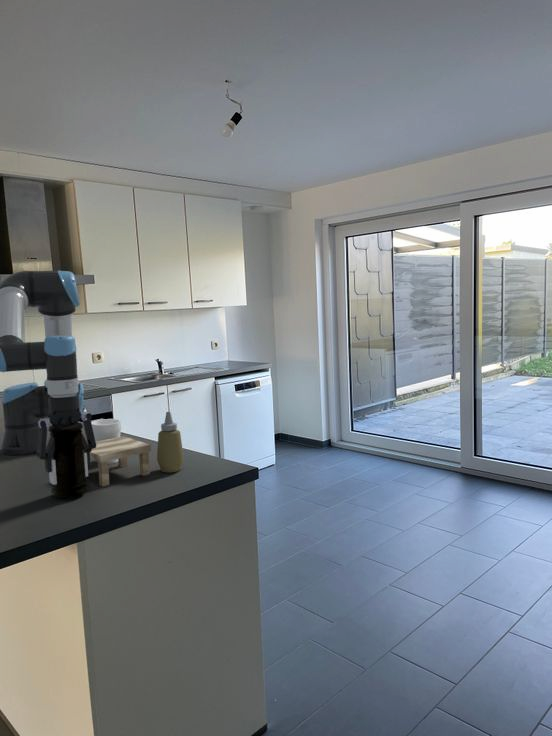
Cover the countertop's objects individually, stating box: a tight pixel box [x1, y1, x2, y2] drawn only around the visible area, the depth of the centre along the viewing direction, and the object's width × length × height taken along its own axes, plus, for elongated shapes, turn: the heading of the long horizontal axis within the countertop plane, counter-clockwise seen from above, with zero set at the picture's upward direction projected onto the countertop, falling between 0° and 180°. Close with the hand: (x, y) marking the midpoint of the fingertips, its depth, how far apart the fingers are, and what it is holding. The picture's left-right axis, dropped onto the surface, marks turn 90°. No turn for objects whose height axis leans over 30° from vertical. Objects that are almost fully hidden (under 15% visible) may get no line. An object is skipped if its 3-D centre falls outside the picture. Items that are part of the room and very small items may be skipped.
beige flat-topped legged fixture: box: [87, 435, 152, 487], centre depth 164 cm, size 16×16×9 cm
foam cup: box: [91, 418, 123, 465], centre depth 178 cm, size 10×9×13 cm
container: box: [47, 422, 88, 498], centre depth 146 cm, size 9×9×18 cm
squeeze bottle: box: [156, 411, 185, 473], centre depth 166 cm, size 8×8×18 cm
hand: (69, 479), depth 146 cm, fingers closed on container, 8 cm apart
